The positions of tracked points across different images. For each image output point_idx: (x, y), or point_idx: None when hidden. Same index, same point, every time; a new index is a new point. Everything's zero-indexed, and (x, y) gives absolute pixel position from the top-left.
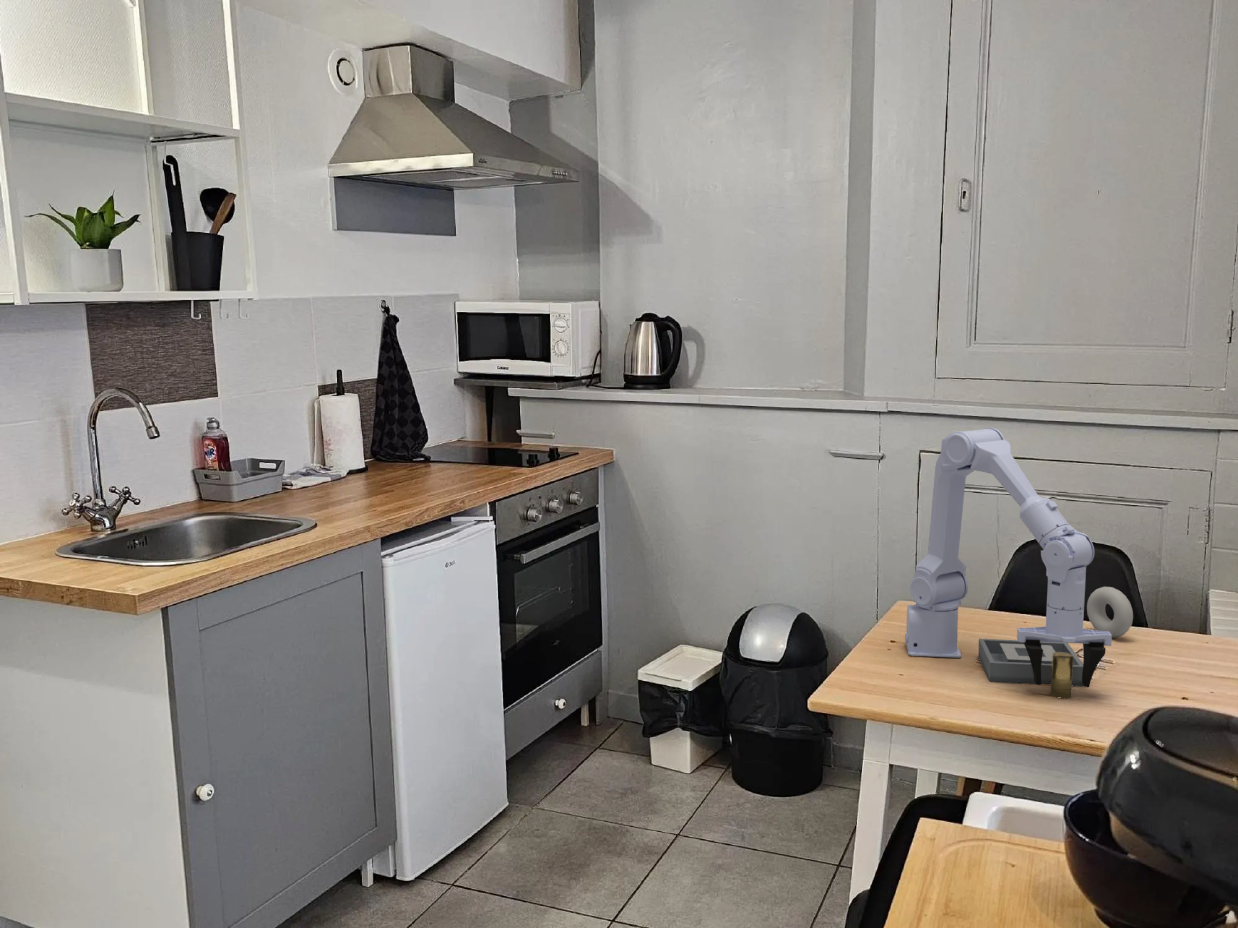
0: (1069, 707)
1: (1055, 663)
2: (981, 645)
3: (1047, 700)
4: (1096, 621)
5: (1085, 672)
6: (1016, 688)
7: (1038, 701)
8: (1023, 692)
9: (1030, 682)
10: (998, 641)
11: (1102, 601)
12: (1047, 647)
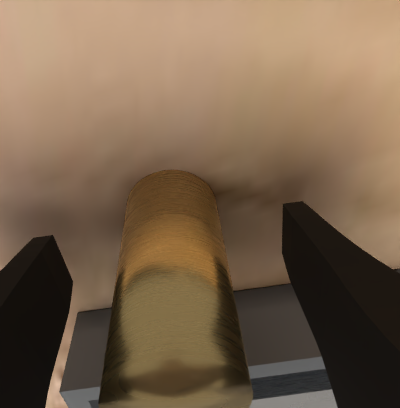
0: (134, 43)
1: (227, 317)
2: None
3: (242, 121)
4: None
5: (35, 310)
6: (351, 228)
7: (292, 93)
8: (334, 193)
9: (283, 289)
10: None
11: None
12: None
